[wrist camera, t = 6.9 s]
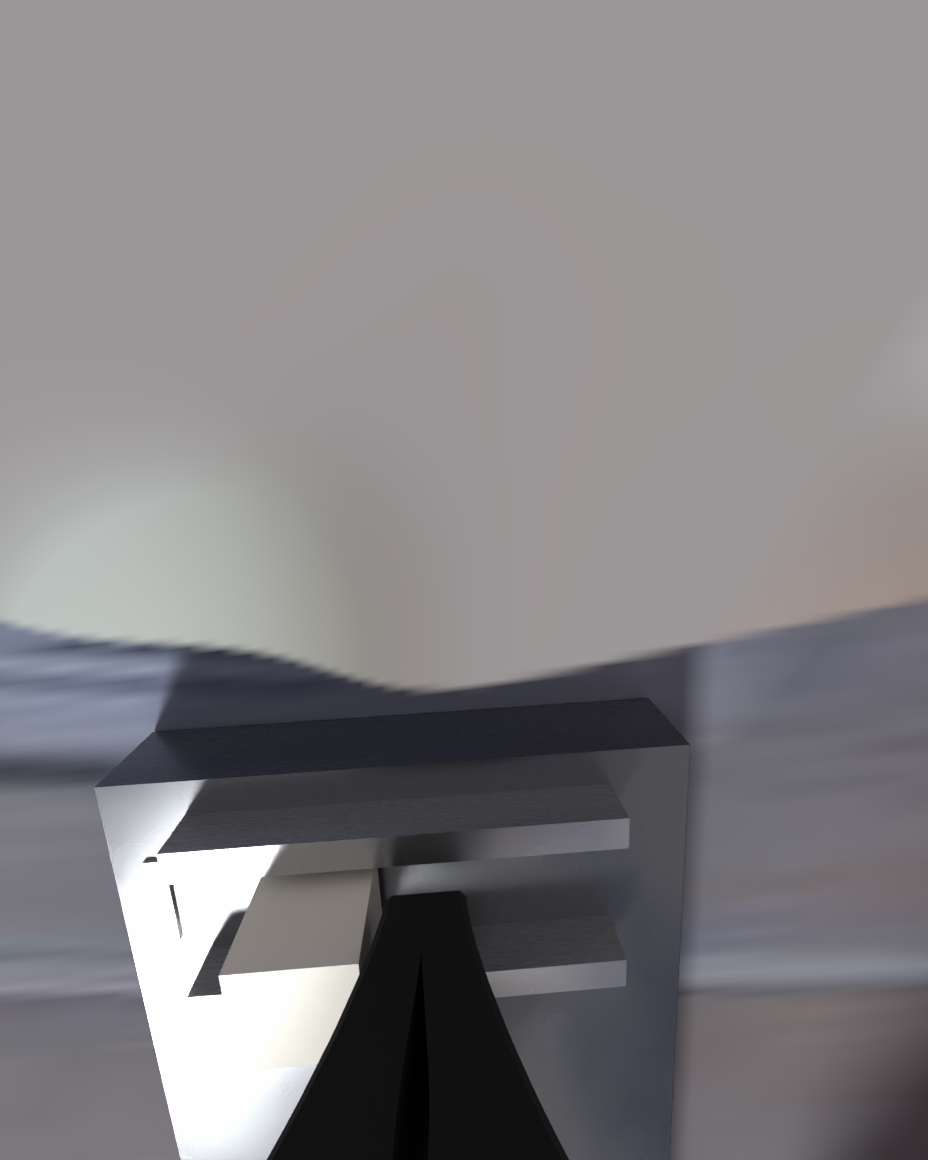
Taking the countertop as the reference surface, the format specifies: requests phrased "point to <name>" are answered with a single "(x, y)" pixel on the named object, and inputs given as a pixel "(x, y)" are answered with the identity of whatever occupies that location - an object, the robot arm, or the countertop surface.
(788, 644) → the countertop surface
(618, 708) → the panel
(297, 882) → the slider knob
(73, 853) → the countertop surface
